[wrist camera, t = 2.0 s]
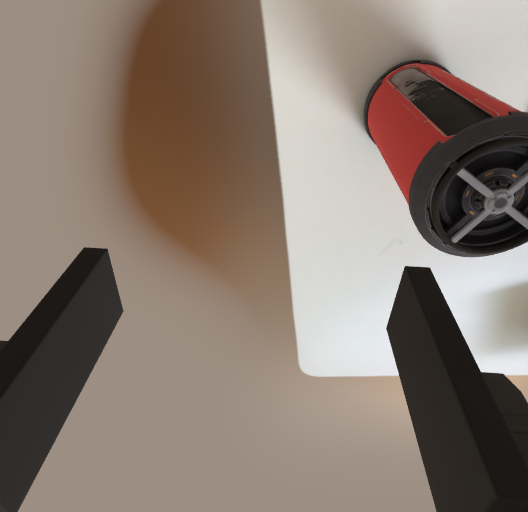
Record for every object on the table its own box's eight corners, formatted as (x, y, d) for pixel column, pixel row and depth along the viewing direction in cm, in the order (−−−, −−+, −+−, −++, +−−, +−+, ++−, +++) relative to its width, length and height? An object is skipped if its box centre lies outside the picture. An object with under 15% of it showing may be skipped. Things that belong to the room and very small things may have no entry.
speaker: (344, 119, 34) (384, 219, 19) (408, 37, 30) (519, 84, 15) (407, 166, 36) (486, 289, 21) (475, 95, 32) (628, 185, 17)
